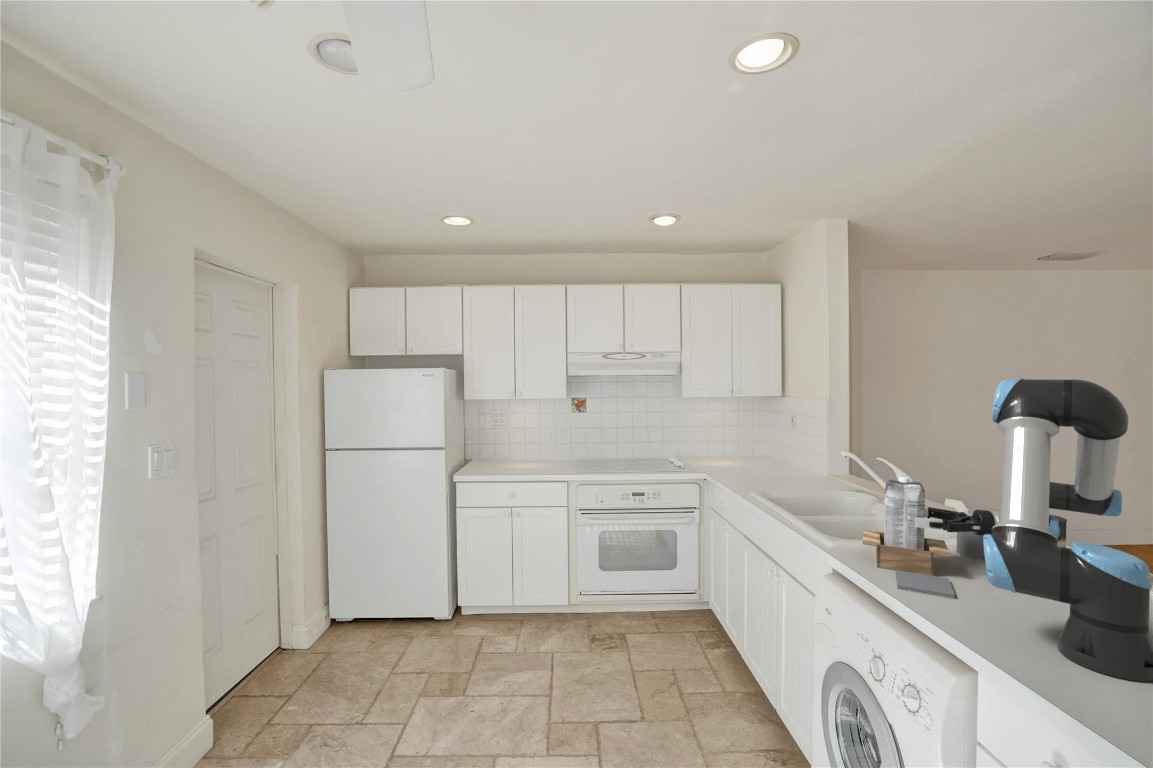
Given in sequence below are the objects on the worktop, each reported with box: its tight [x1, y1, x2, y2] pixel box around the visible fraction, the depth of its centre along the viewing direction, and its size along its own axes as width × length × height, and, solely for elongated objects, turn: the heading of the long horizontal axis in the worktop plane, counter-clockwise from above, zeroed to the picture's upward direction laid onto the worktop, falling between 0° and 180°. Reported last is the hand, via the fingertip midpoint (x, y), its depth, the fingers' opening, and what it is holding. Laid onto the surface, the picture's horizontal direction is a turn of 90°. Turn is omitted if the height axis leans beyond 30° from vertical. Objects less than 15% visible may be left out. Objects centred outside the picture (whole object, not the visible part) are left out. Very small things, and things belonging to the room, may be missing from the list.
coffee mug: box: [955, 532, 985, 561], centre depth 173 cm, size 13×10×10 cm
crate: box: [862, 529, 952, 576], centre depth 165 cm, size 16×23×7 cm
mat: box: [895, 570, 956, 599], centre depth 149 cm, size 13×13×1 cm
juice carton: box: [883, 476, 926, 551], centre depth 165 cm, size 9×10×27 cm
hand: (909, 516), depth 165 cm, fingers open, 13 cm apart
